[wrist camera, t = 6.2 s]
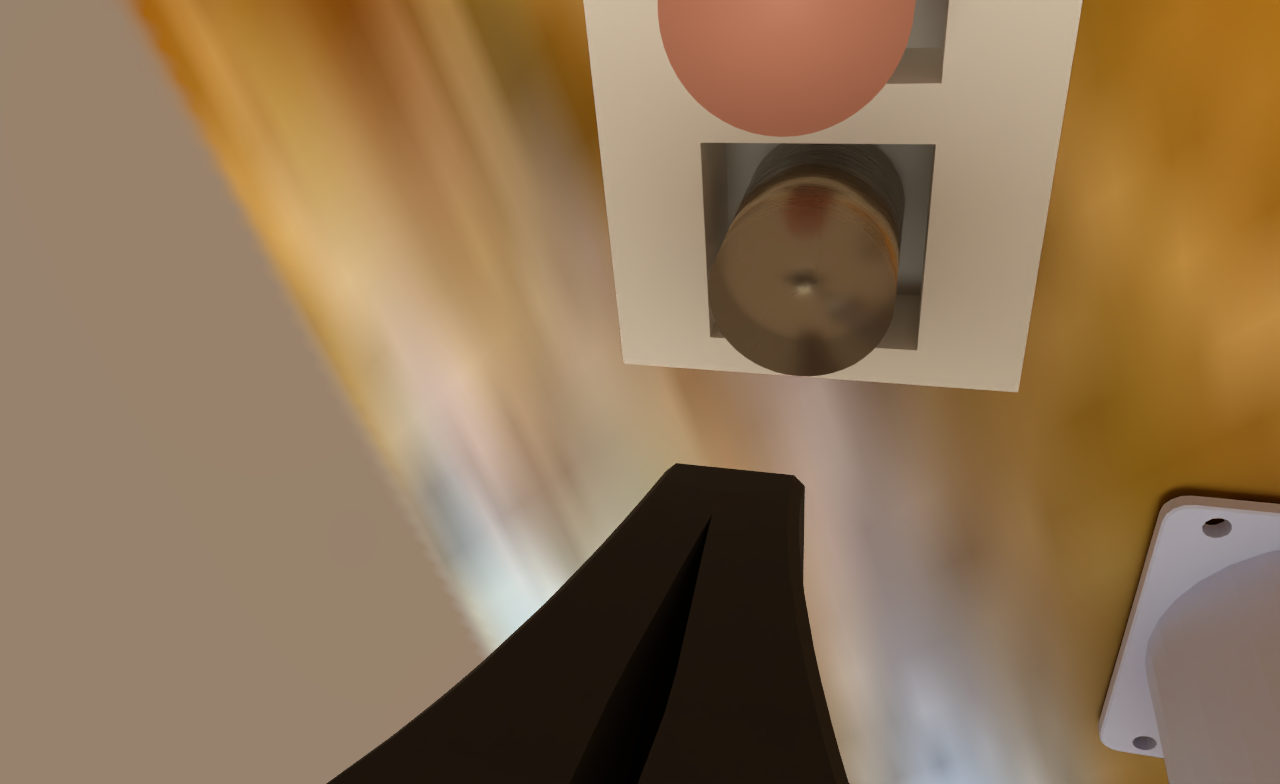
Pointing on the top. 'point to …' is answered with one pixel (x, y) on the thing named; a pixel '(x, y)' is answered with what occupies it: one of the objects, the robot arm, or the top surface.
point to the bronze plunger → (811, 259)
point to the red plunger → (784, 58)
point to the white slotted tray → (892, 121)
